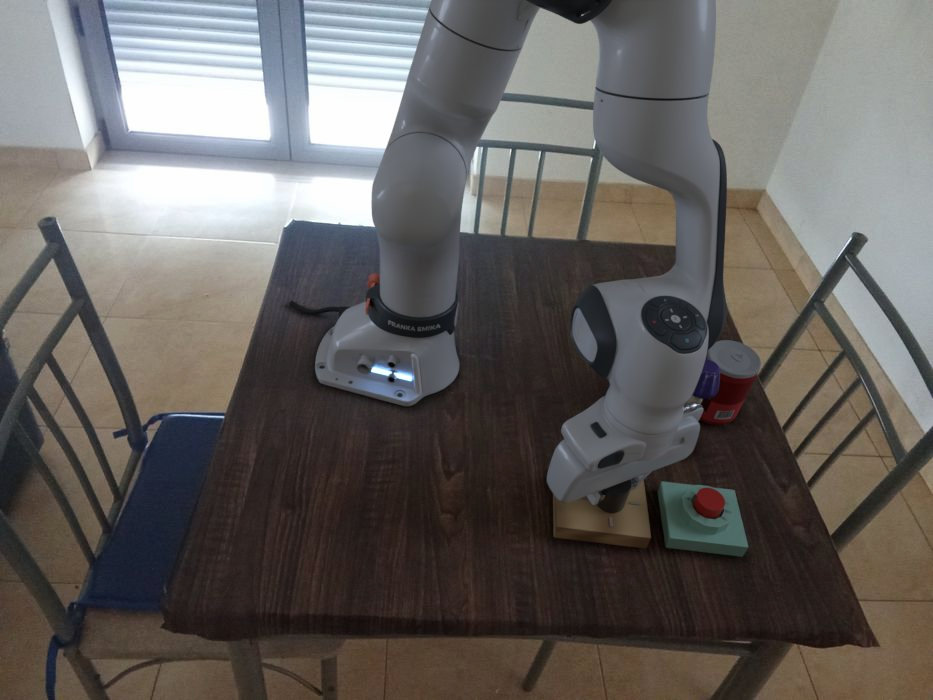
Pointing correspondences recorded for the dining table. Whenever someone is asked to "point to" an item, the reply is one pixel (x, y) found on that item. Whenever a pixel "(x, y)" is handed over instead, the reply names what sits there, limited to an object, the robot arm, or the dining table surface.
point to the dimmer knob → (615, 497)
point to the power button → (709, 502)
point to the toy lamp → (707, 382)
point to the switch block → (700, 521)
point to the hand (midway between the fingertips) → (611, 493)
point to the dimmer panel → (604, 521)
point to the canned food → (730, 380)
